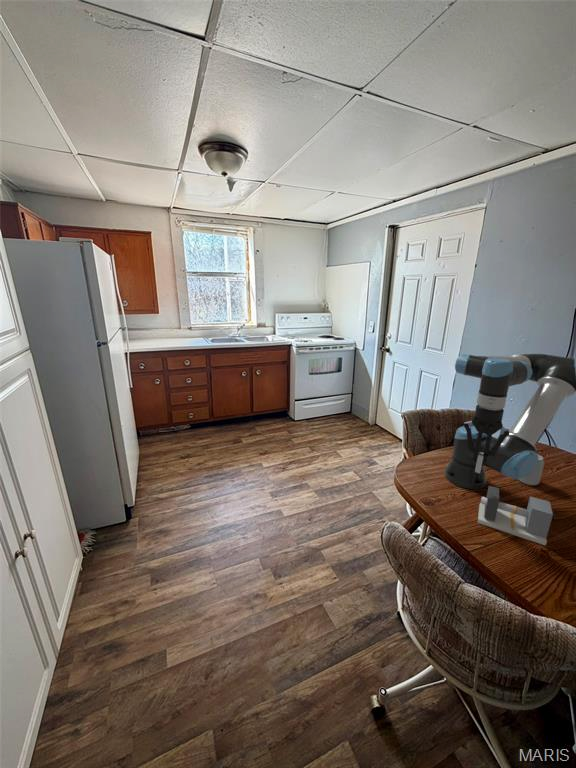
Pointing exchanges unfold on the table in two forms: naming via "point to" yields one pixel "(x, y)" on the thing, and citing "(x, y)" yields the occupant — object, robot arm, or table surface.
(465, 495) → the table surface
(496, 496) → the collar
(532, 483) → the can
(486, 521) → the rod stand
